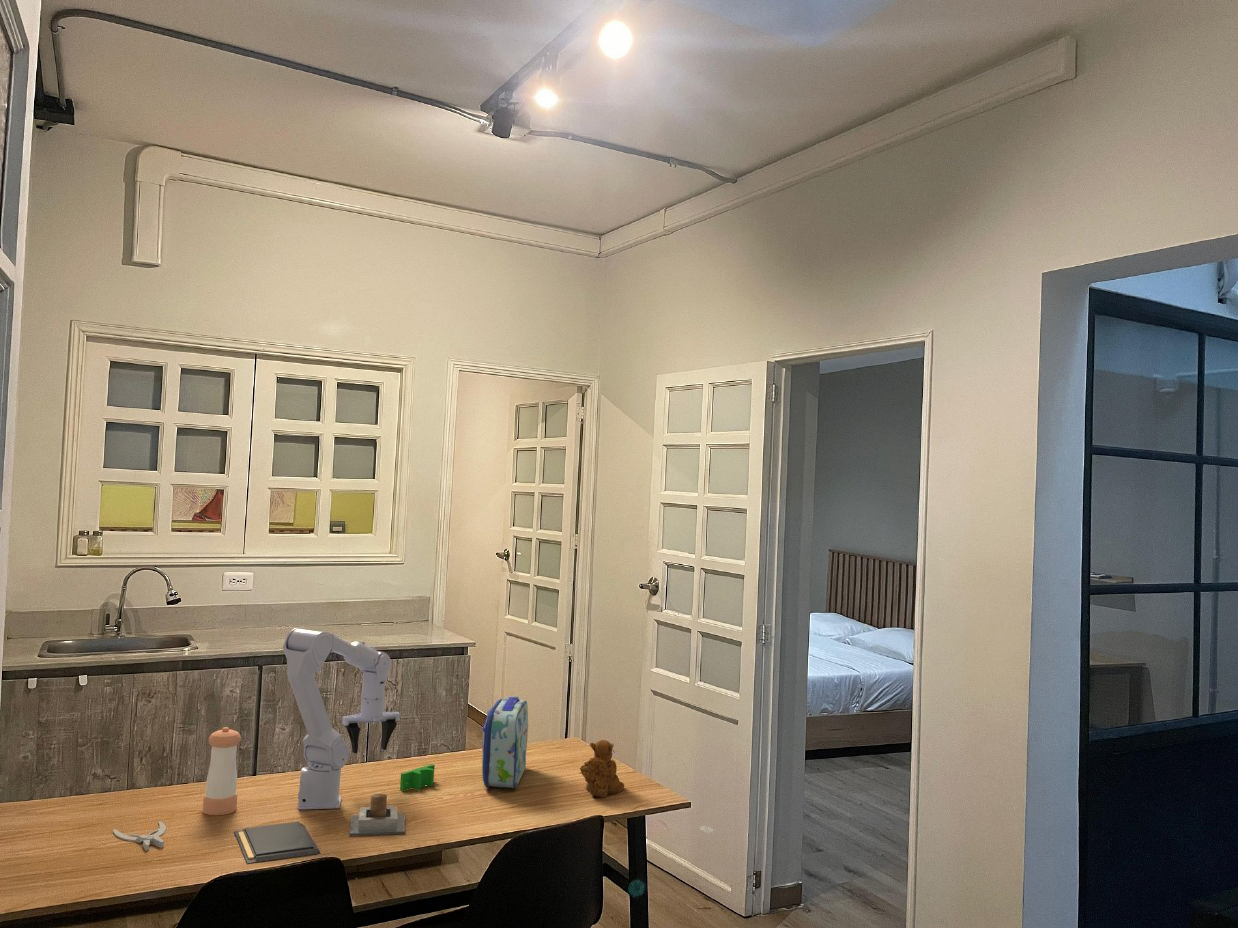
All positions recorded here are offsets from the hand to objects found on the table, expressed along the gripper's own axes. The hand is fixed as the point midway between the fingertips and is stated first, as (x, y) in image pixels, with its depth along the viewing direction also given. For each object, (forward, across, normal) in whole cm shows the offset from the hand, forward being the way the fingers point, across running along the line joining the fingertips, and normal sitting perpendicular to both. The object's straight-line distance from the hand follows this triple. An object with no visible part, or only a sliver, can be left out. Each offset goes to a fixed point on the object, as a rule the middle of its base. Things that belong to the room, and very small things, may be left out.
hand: (369, 750), depth 232 cm
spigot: (+9, -7, -27) cm, 29 cm away
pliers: (+10, -53, -13) cm, 55 cm away
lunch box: (+10, +36, -8) cm, 38 cm away
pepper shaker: (+10, -36, -2) cm, 37 cm away
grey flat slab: (+10, -29, -28) cm, 41 cm away
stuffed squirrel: (+10, +53, -29) cm, 61 cm away
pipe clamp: (+10, +12, -5) cm, 17 cm away
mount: (+9, -7, -27) cm, 30 cm away
